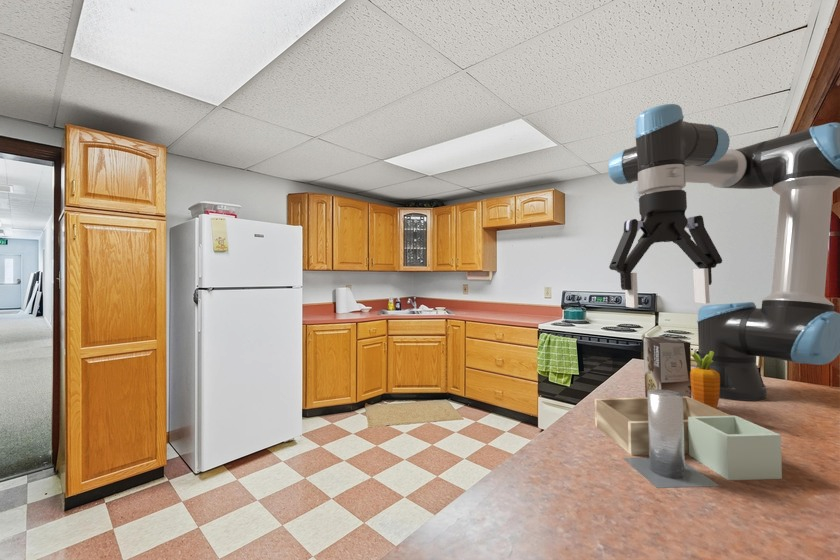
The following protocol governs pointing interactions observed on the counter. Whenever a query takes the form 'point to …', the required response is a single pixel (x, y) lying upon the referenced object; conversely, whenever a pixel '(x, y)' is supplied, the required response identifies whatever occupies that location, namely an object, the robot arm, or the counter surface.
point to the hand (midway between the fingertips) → (667, 305)
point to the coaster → (689, 480)
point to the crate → (640, 421)
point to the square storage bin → (735, 447)
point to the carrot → (705, 381)
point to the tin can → (666, 433)
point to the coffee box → (667, 365)
